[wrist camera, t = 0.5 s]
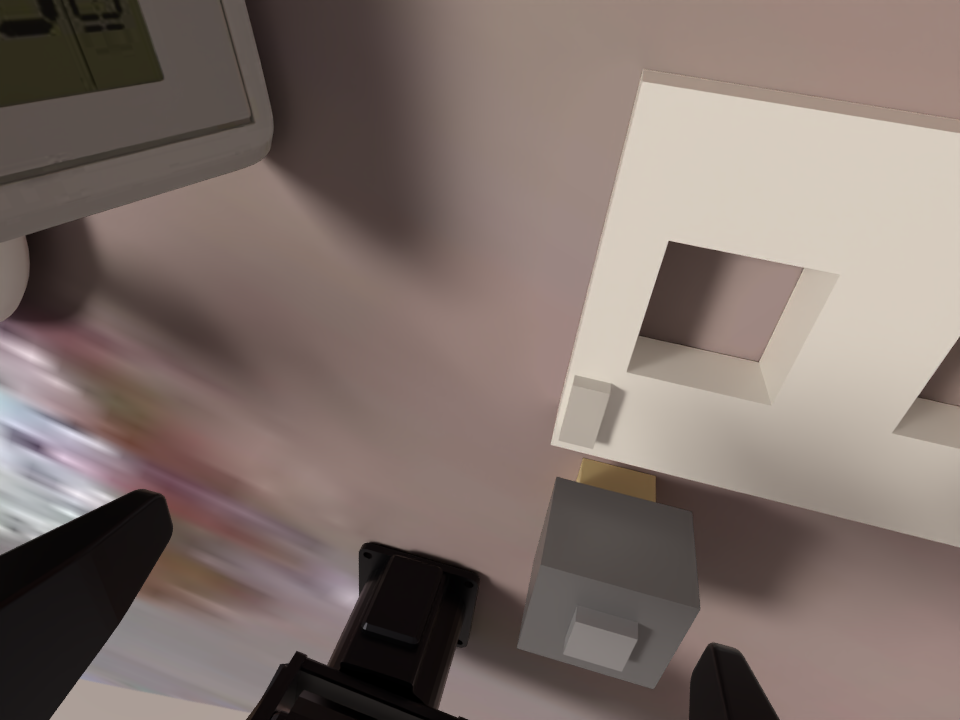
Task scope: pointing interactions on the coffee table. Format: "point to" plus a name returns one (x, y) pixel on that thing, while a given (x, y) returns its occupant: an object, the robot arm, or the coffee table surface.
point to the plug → (611, 576)
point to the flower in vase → (13, 274)
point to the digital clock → (122, 103)
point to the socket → (807, 316)
